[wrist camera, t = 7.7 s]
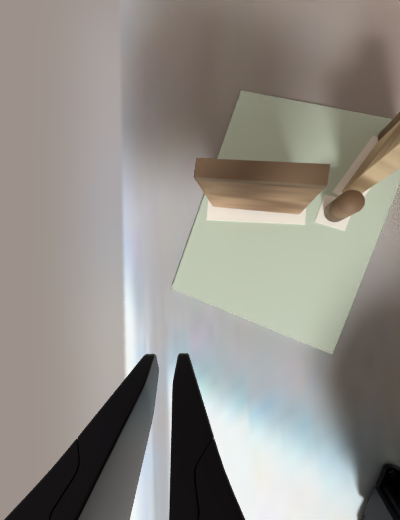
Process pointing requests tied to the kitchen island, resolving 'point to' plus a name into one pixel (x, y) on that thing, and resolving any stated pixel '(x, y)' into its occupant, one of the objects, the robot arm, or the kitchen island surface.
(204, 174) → the tan wooden plank
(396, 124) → the tan piece
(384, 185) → the card
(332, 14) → the kitchen island surface
